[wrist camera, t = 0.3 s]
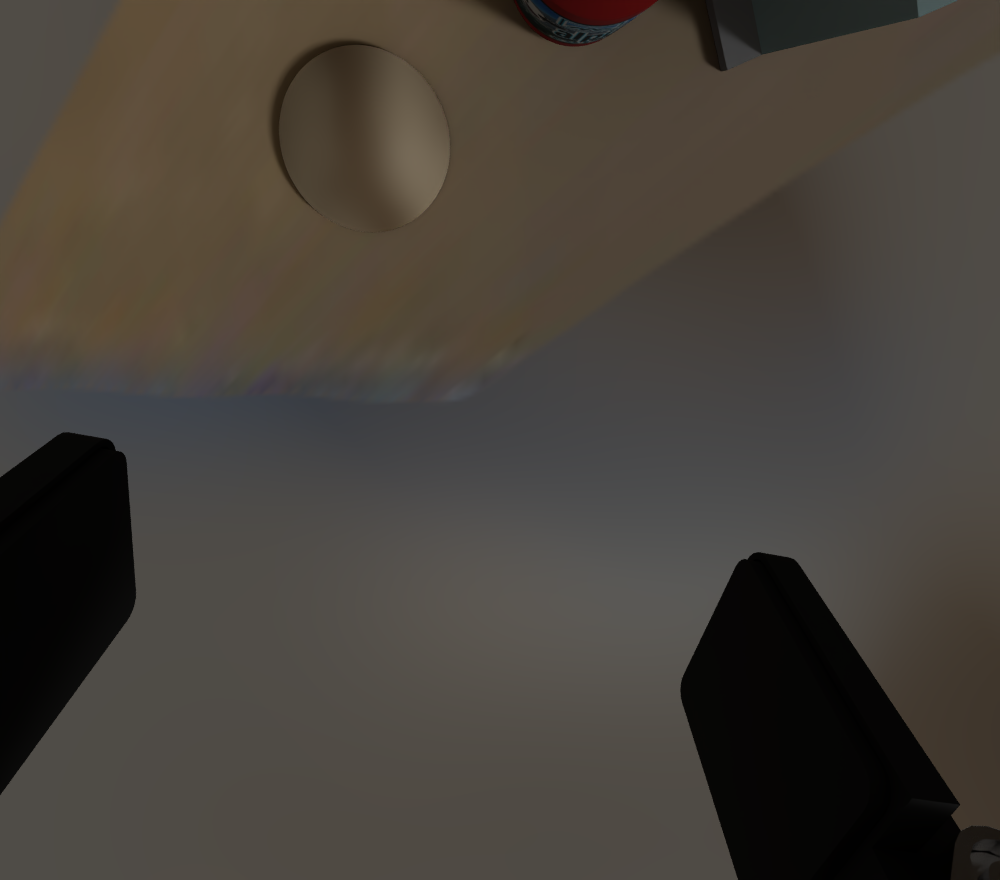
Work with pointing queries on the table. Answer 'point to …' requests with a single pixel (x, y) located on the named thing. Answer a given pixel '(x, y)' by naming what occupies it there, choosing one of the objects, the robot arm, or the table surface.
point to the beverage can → (579, 18)
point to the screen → (799, 22)
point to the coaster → (364, 138)
